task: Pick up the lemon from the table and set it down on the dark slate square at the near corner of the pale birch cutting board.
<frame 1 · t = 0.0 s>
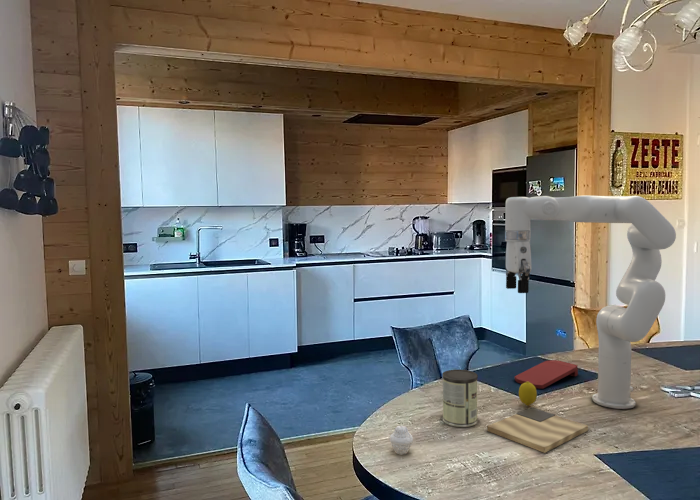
hand: (516, 290, 168), 37 cm above the table, tool pointing down, fingers open, 9 cm apart
coffee can: (459, 421, 159), on the table
board: (537, 430, 151), on the table
red sloped ramp: (547, 379, 198), on the table
white rounded piece: (401, 452, 139), on the table
lemon: (527, 406, 171), on the table
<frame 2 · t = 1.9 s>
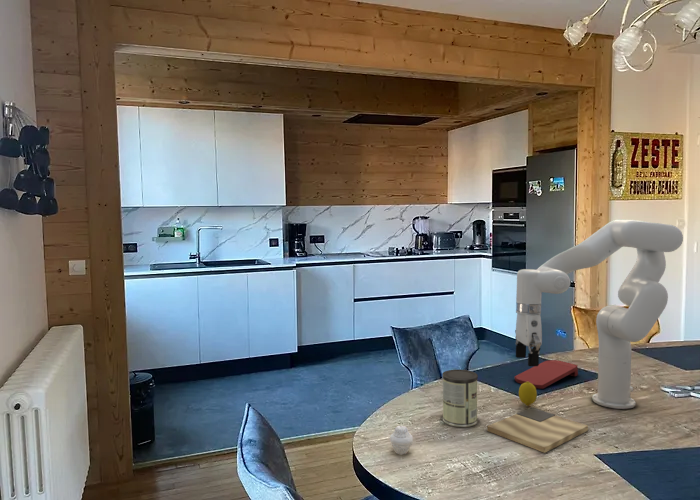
hand: (526, 361, 170), 14 cm above the table, tool pointing down, fingers open, 9 cm apart
nothing on the table moved.
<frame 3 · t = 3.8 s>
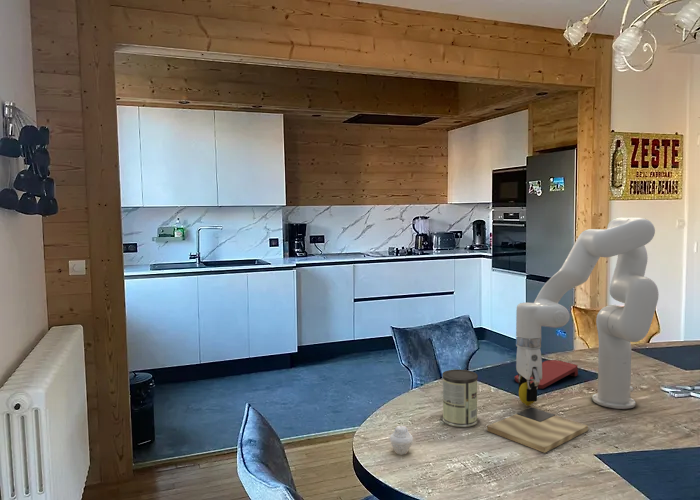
hand: (527, 397, 171), 3 cm above the table, tool pointing down, fingers closed on lemon, 5 cm apart
lemon: (527, 406, 171), on the table, touching gripper
everything else where it was.
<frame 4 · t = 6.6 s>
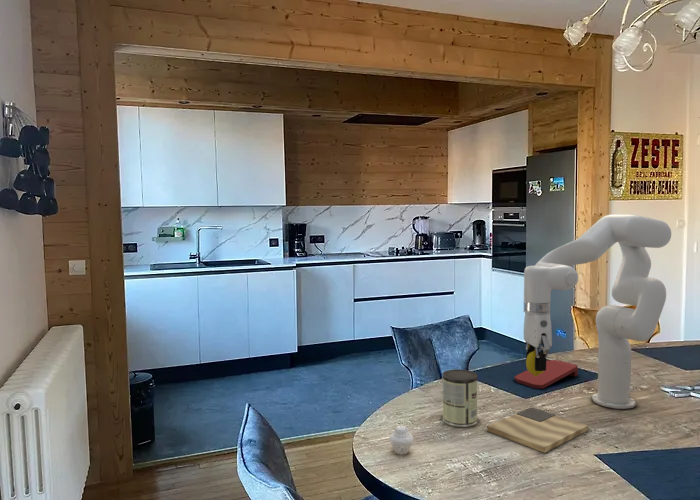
hand: (535, 366, 159), 16 cm above the table, tool pointing down, fingers closed on lemon, 5 cm apart
lemon: (535, 377, 159), point 13 cm above the table, touching gripper
everything else where it was.
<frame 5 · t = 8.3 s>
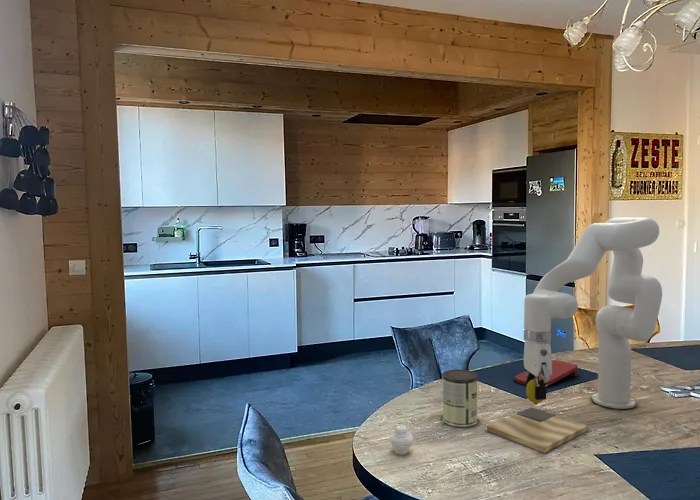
hand: (535, 394, 159), 8 cm above the table, tool pointing down, fingers closed on lemon, 5 cm apart
lemon: (535, 405, 159), point 4 cm above the table, touching gripper
everything else where it was.
when the fingers open (5 cm above the table, at t = 9.5 s): lemon stays where it is, resting on board.
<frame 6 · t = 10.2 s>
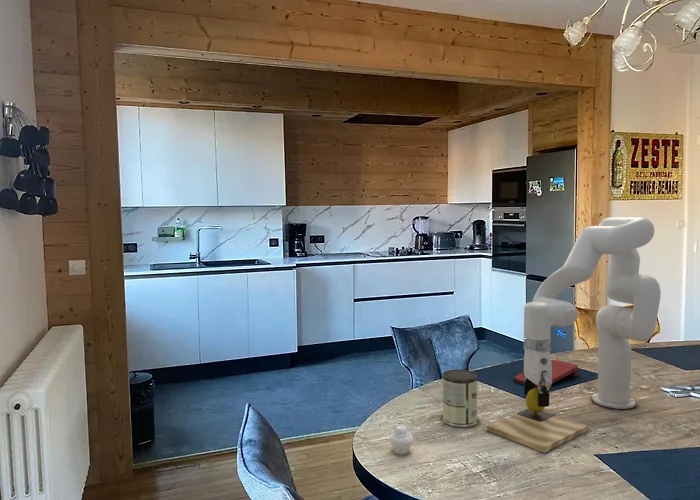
hand: (536, 400, 159), 6 cm above the table, tool pointing down, fingers open, 9 cm apart
lemon: (535, 414, 160), point 2 cm above the table, touching board
everything else where it was.
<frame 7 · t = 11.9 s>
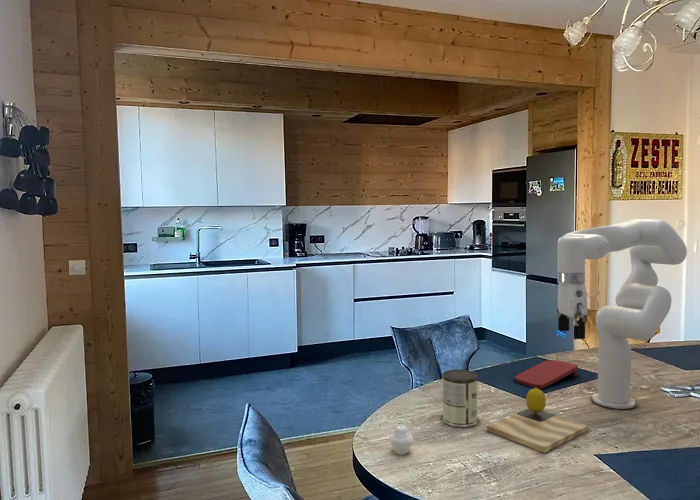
hand: (571, 334, 160), 25 cm above the table, tool pointing down, fingers open, 9 cm apart
nothing on the table moved.
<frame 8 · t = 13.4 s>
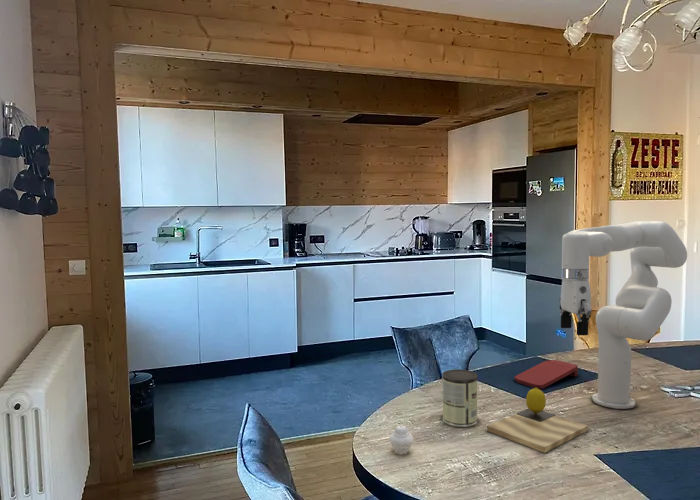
hand: (573, 331, 159), 26 cm above the table, tool pointing down, fingers open, 9 cm apart
nothing on the table moved.
at the end: lemon inside the target area on the board (0.4 cm from its centre), point 1.5 cm above the board's base; the gripper is holding nothing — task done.
